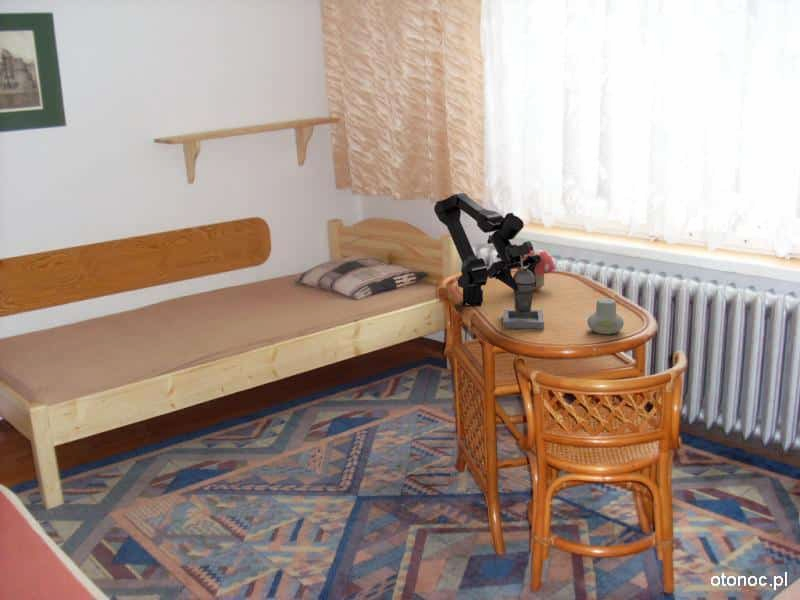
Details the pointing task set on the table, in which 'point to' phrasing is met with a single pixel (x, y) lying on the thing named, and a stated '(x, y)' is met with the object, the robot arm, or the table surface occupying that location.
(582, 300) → the table surface
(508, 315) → the tray
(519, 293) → the beverage cup
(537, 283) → the decorative mushroom
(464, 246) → the robot arm
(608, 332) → the air freshener
